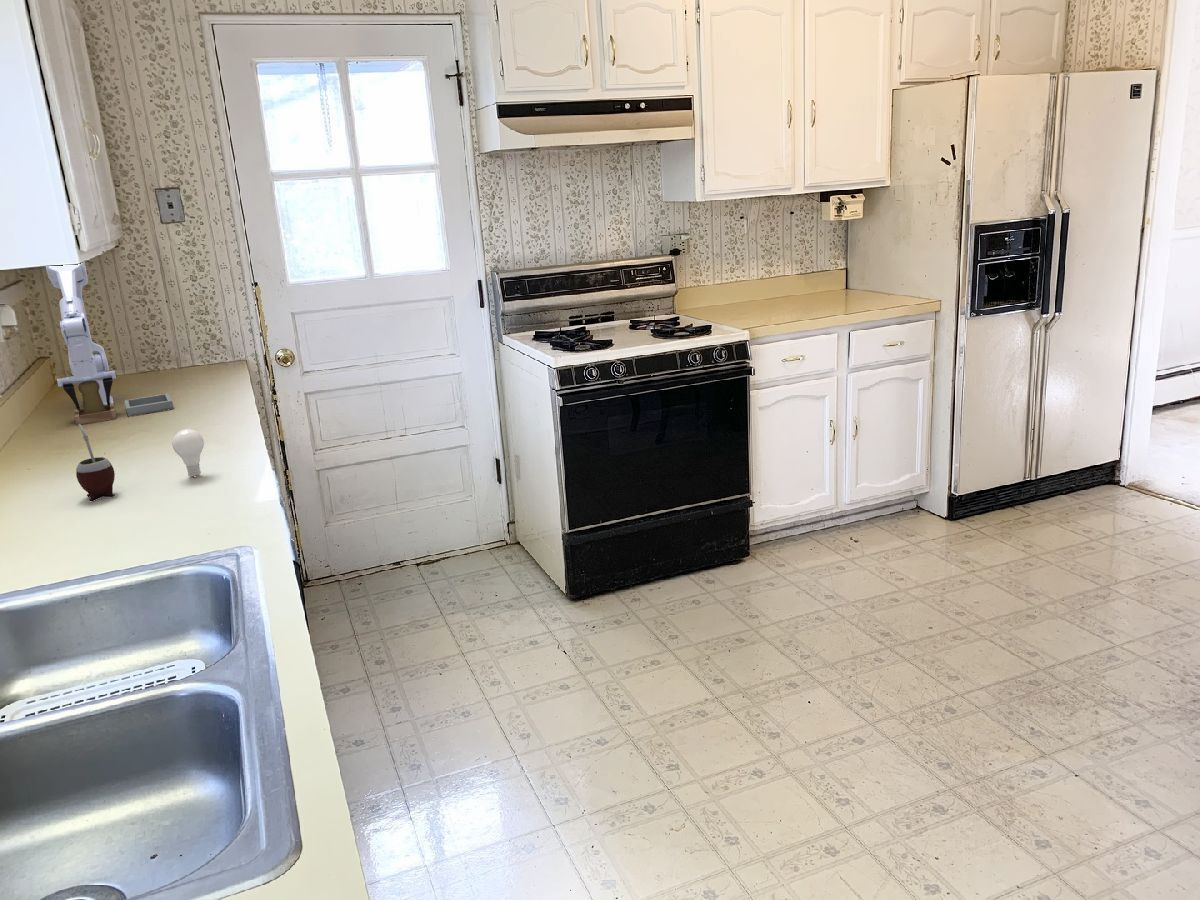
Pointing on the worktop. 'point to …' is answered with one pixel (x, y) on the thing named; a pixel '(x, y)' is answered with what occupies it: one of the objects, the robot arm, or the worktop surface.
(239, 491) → the worktop surface
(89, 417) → the wooden square frame
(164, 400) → the tray
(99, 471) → the mate gourd
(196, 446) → the lightbulb
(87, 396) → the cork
